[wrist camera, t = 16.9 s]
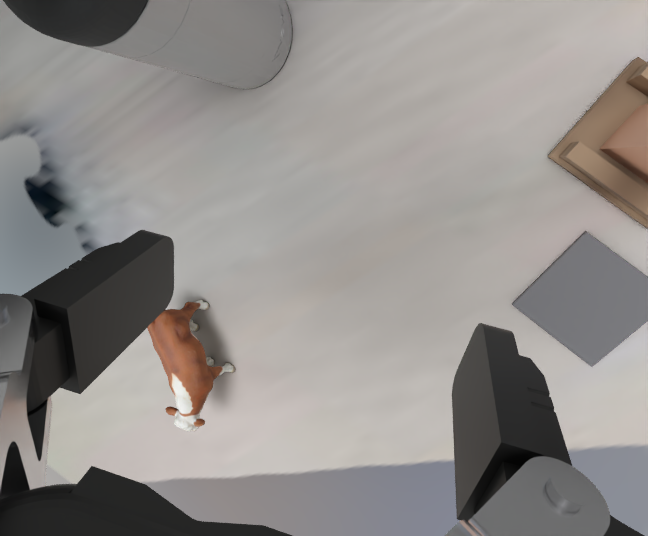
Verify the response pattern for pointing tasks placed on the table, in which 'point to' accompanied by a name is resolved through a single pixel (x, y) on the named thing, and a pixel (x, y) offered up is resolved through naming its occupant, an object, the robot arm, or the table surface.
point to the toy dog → (185, 363)
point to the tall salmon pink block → (631, 143)
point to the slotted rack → (594, 130)
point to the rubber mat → (588, 299)
